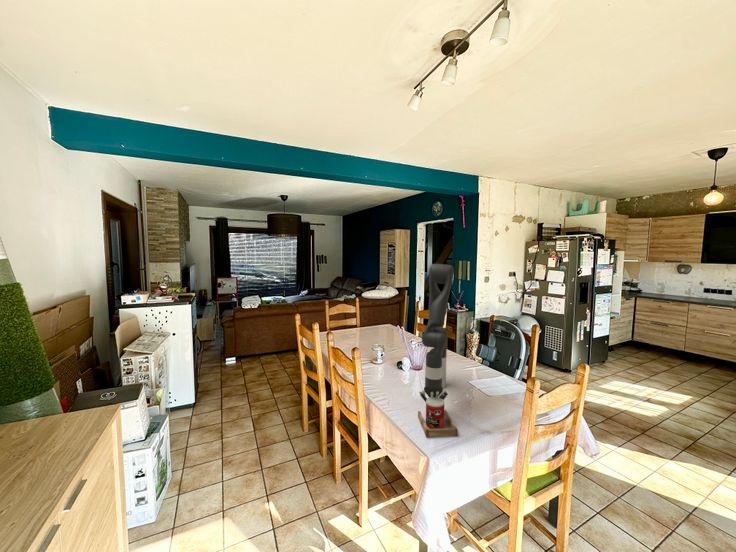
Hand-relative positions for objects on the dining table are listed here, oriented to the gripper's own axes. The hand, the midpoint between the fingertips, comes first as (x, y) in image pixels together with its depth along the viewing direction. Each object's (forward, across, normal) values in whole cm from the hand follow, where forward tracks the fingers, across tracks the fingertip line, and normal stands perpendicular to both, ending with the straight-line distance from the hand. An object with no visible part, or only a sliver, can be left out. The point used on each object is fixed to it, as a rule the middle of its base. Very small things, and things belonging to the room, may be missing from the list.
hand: (433, 412), depth 139 cm
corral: (+3, 0, +6) cm, 7 cm away
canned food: (+3, +1, +5) cm, 6 cm away
